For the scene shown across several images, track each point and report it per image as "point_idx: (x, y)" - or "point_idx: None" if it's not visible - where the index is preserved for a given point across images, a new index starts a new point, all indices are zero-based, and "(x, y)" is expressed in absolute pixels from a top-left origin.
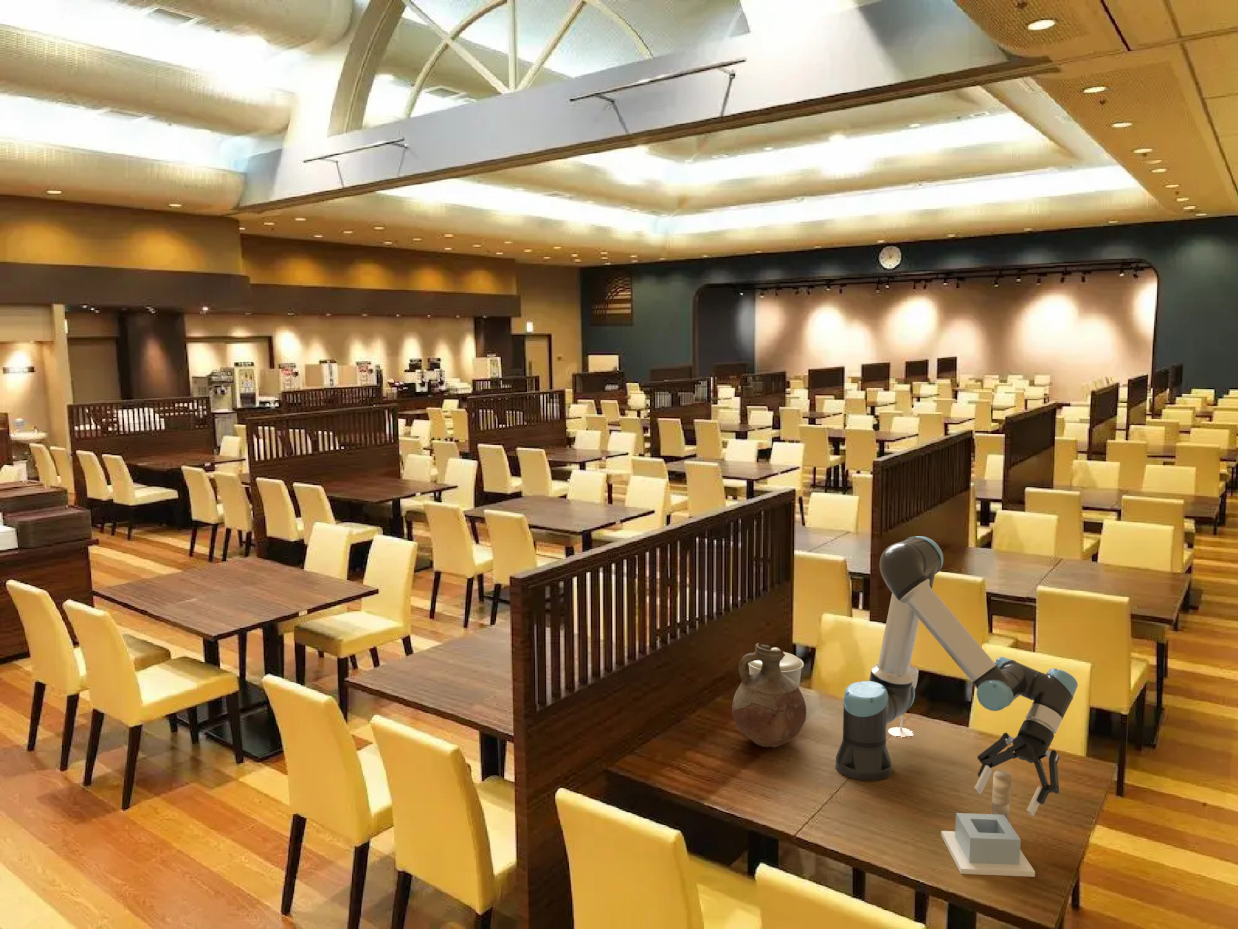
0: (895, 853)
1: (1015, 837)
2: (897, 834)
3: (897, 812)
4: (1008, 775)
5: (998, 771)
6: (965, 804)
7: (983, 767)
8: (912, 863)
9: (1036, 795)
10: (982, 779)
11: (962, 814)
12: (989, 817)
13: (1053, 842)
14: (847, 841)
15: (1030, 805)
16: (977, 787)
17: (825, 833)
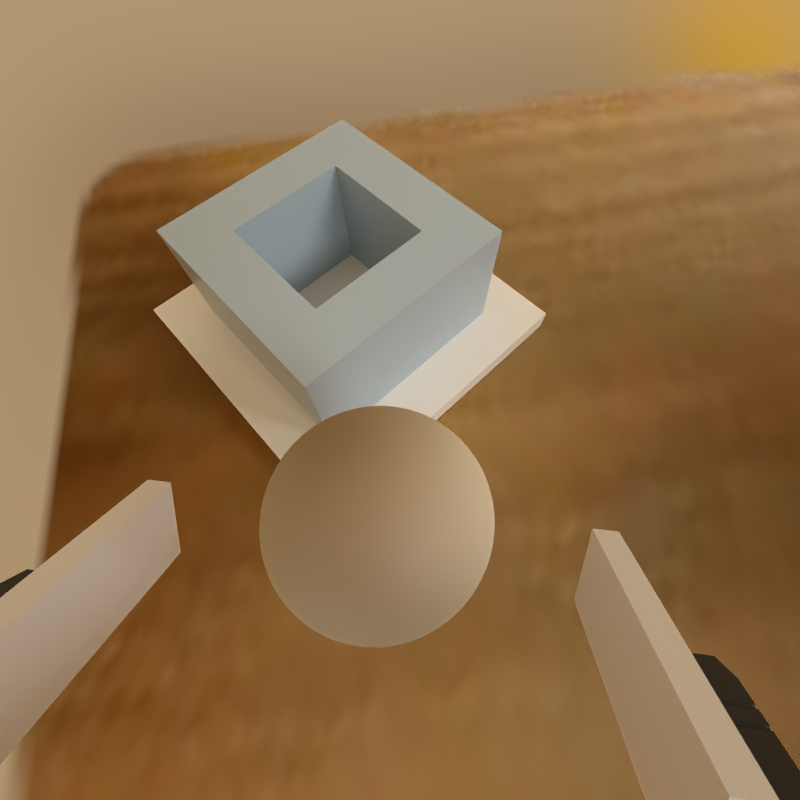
0: (559, 154)
1: (181, 229)
2: (640, 232)
3: (778, 355)
4: (305, 556)
5: (462, 569)
6: None
7: (780, 789)
8: (492, 148)
9: (29, 578)
10: (629, 615)
11: (472, 239)
12: (355, 303)
13: (141, 654)
14: (691, 116)
15: (127, 507)
16: (599, 536)
17: (763, 107)
